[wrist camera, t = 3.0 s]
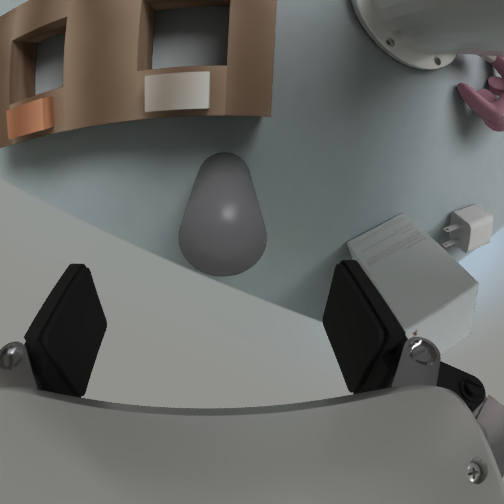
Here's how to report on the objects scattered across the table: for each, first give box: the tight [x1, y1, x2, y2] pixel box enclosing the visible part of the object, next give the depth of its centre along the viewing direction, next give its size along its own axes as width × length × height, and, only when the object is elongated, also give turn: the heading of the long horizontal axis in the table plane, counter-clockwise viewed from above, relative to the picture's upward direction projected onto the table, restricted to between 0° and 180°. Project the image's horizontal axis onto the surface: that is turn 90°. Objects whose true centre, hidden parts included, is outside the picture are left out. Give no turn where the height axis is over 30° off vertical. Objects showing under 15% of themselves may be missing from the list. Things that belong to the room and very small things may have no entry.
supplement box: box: [347, 213, 478, 353], centre depth 23 cm, size 7×7×13 cm
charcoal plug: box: [179, 152, 267, 276], centre depth 18 cm, size 4×4×12 cm
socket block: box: [0, 0, 277, 148], centre depth 14 cm, size 24×13×6 cm, turn 88°
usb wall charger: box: [442, 204, 494, 253], centre depth 26 cm, size 4×7×4 cm, turn 107°
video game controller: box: [457, 56, 504, 132], centre depth 17 cm, size 10×5×7 cm, turn 139°
